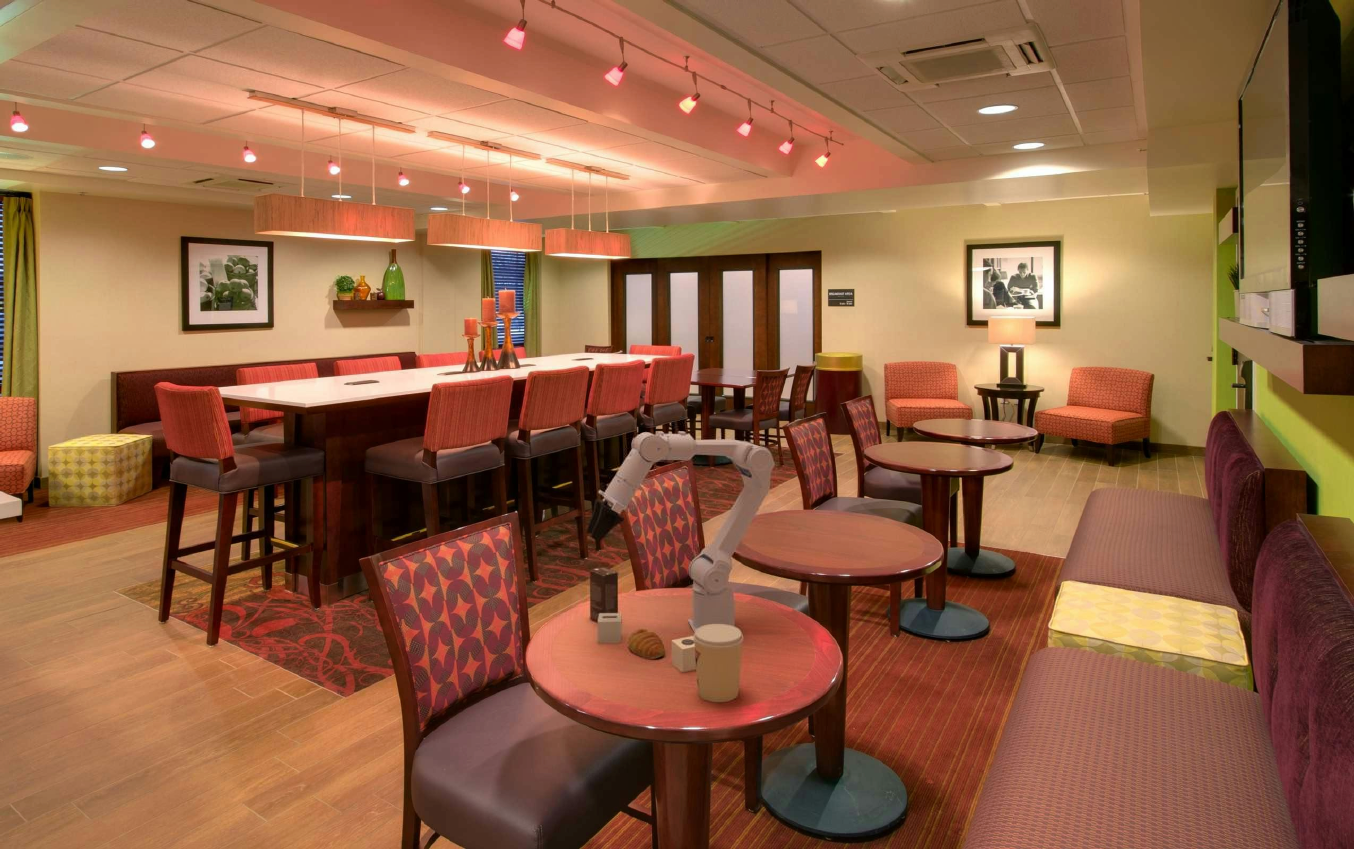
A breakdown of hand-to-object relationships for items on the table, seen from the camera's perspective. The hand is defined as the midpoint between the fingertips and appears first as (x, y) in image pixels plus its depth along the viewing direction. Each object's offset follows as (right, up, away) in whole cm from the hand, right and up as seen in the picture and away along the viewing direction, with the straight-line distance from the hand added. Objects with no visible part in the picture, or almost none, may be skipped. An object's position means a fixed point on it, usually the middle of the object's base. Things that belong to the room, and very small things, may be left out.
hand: (592, 536), depth 171 cm
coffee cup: (+26, -27, -19) cm, 42 cm away
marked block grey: (+3, -24, +6) cm, 25 cm away
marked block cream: (+20, -26, -7) cm, 34 cm away
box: (+1, -22, +17) cm, 28 cm away
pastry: (+12, -25, 0) cm, 28 cm away
